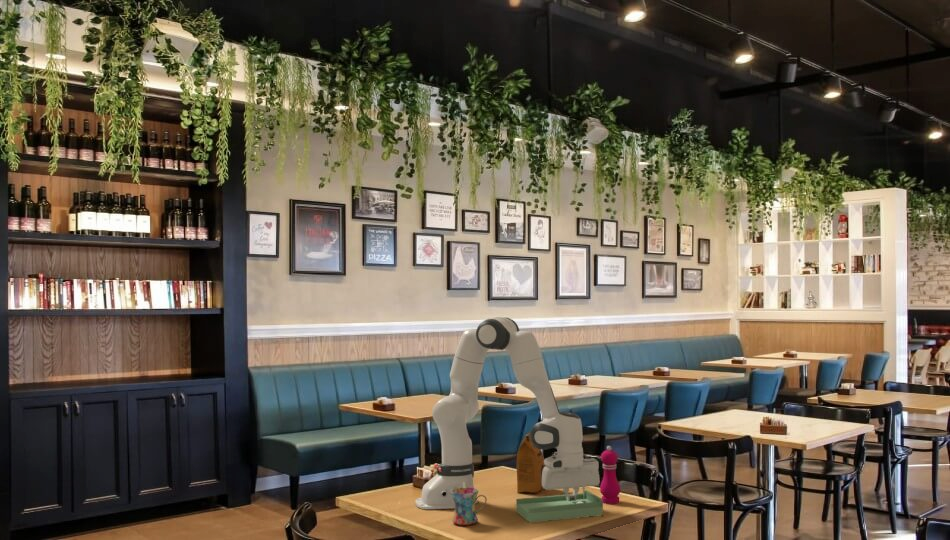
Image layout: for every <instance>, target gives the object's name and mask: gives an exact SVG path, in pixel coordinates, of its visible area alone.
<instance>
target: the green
mask: <svg viewBox="0 0 950 540" xmlns="http://www.w3.org/2000/svg"><path fill="white" fill-rule="evenodd" d="M583 459H585V458H584V457H583ZM572 494H573V493H569V495H572ZM580 501H581V502H584V503H579V504H576V503H577V502H580ZM603 504H604V503H603V499H602V497H600V496H597V495H596V494H594V493H592V492H591V491H589V490H587V489H586V487H582V492H581V493H579V492H578V493H577V495H576V501H567V499H566V494H558V495H547V496H534V497H533V496H532V497H525V498H516V513H517V514H518V513H519V514H518V515H520V516H521V517H522V518H523V517H524V518H523V519H524V520H526V521H527V522H528V521H529V522H528V523H530V522H531V523H538V522H537V521H542V522H549V521H548V520H552V521H559V519H563V520H570V519H569V518H573V519H579V518H578V517H584V518H588V517H587V516H594V517H598V516H597V515H603V516H604V512H603V511H604V509H603Z"/></svg>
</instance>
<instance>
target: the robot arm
mask: <svg viewBox="0 0 950 540" xmlns="http://www.w3.org/2000/svg"><path fill="white" fill-rule="evenodd" d="M489 350H498V351H503V350H505V351H506V352H507V353H508V354H509V358H510V362H511V365H512V370H513V374H514V376H515V378H516V380H517V382H518V384H520V386H522V387H524V388H525V389H528V390H529V391H530V392H532V393H533V394H534V396H535V399H536V401H537V404H538V407H539V410H540V413H541V417H542V421H539V422H537V423H535V424H533V426H532V427H531V428H530V430H529V433H530V440H531V442H532V444H533V445H534V446H535V447H536V448H538V449H541V450H542V451H543V450H549V449H550V450H551V449H556V450H557V451H556V452H557V453H556V454H553V455H552V456H548V457H546V458H544V468H543V471H542V486H543V488H542V489H545V490H546V491H552V490H561V489H562V491H563V492H564V495H566V499H567V501H576V495H577V494H579V491H580V488H583V487H585V488H586V487H596V486H599V484H601V481H600V474H599V473H600V471H599V461H598V460H597V459H596V458H593V457H592V458H584V448H583V444H582V443H583V439H584V438H583V435H584V434H583V425H582V419H581V417H580V416H579V415H578V414H576V413H575V412H572V411H571V412H570V411H560V410H559V406H558V404H557V400H556V397H555V395H554V391H553V389H552V388H553V387H552V385H551V383H550V379H549V378H548V377H549V376H548V375H547V370H546V367H545V362H544V359H543V355H542V351H541V348H540V345H539V343H538V341H537V338H536V336H535V334H534V333H533V332H531V331H529V330H520V328H519V325H518V324H517V322H516V321H514V320H513V319H512V318H509V317H502V316H501V317H500V316H499V317H498V316H497V317H493V318H488V319H485V320H483V321H481V322H480V323H479V325H478V326H477V328H470V329H469V328H468V329H466V330H464V331H463V333H462V335H461V336H460V338H459V341H458V344H457V346H456V349H455V354H454V357H453V359H452V364H451V369H450V372H449V380H450V393H449V395H447V396H445V397H442V398H441V399H439V400H438V401H437V402H436V403H435V404H434V405H433V407H432V411H431V416H432V419H433V422H434V423H435V424H436V425H437V429H438V433H439V436H440V437H439V438H440V444H441V463H440V464H438V463H434V464H433V469H434V470H436V474H435V475H434V476H433V477H432V478H430V480H428V481H427V482H426V483H425V484H423V487H422V488H421V496H420V497H418V498H416V499H415V503H414V504H415V505H416V507H417V508H419V509H422V510H443V509H444V510H446V509H447V510H448V509H452V510H453V509H455V505H454V500H453V497H452V494H451V492H450V491H451V490H452V489H455V488H464V487H468V488H475V484H474V483H475V482H474V477H475V465H474V462H473V442H472V439H471V438H470V435H469V432H468V429H467V422H470V421H471V420H473V418H474V417H475V416H476V415H477V414H478V412H479V409H480V404H479V401H478V399H479V398H478V397H479V384H480V379H481V376H482V372H483V367H484V363H485V361H486V357H487V353H488V351H489ZM583 458H584V459H583ZM570 489H573V492H572V493H571V494H572V495H569V494H570V493H569V491H570ZM477 503H478V500H477V501H475V504H477Z"/></svg>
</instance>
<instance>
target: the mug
mask: <svg viewBox="0 0 950 540" xmlns="http://www.w3.org/2000/svg"><path fill="white" fill-rule="evenodd" d="M450 492H451V494H452V497H453V500H454V505H455V508H454V514H453V518H452V519H451V521H452V523H453V524H456V525H459V526H460V525H461V526H469V525H473V524H476V523H477V522H478V520H479V519H478V517H477V515H479V513H478V512H479V511H480V510H482V509H483V508H484V507H485V506H486V503H487V496H485V495H484V494H480V495H478V493H479V489H477V488H475V487H474V488H468V487H464V488H455V489H452V490H451V491H450ZM480 497H483V498H484V503H483V505H482V506H481V507H480V508H478V509H476V503H475V501H477V502H478V498H480Z"/></svg>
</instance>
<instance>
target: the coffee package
mask: <svg viewBox="0 0 950 540" xmlns="http://www.w3.org/2000/svg"><path fill="white" fill-rule="evenodd" d="M516 455H517V456H516V481H517V483H516V484H517V485H516V489H517V490H516V492H517V493H518V494H519V493H520V494H521V493H523V494H524V493H525V494H528V492H529V494H530V493H531V494H534V493H538V492H540V491H542V490H543V489H544V488H543V486H542V471H543V468H544V467H545V464H544V460H545V458H544V454H543V450H542V449H538V448H536V447H535V446H534V445H533V444H532V442H531V440H530V432H529V433H527V434H525V436H524V439H522V441H521V443H520V445H519V448H518V450H517V454H516Z"/></svg>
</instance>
